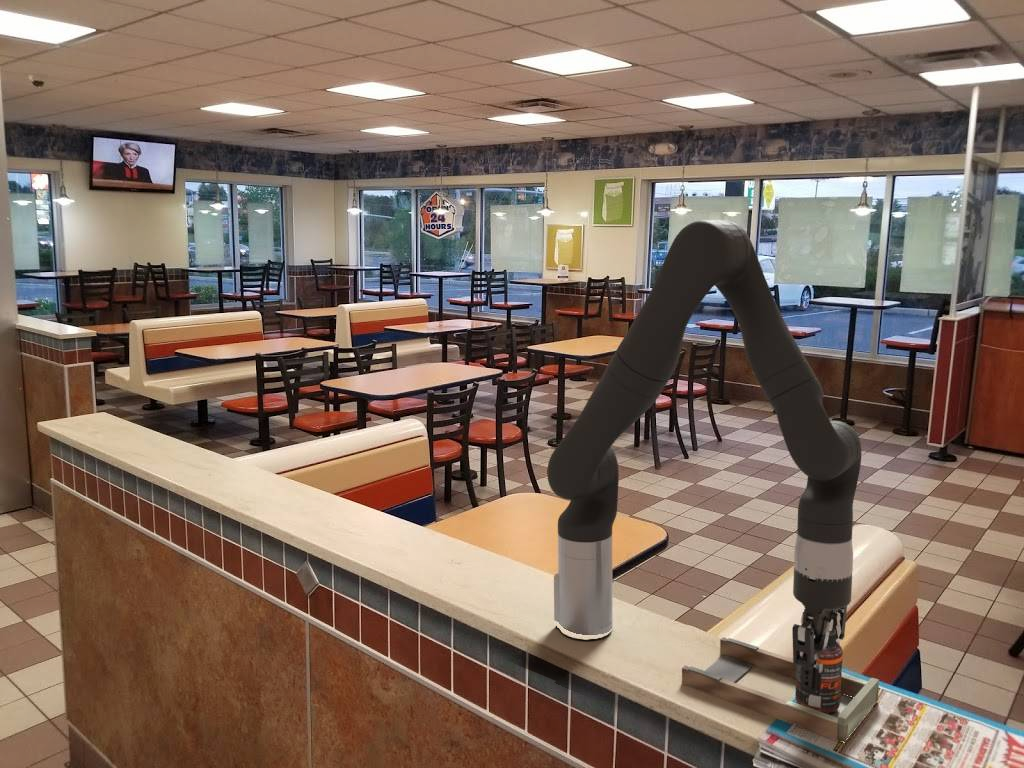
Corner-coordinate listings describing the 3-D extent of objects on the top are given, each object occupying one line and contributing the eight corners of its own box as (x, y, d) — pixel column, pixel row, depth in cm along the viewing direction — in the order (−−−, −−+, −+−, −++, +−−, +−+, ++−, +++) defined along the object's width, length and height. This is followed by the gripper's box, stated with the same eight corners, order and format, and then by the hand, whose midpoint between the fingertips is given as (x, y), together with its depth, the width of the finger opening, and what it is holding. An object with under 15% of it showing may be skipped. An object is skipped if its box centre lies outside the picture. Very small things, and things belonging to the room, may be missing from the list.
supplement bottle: (823, 720, 110) (827, 642, 109) (786, 702, 115) (788, 627, 114) (848, 706, 114) (852, 630, 112) (811, 688, 119) (814, 615, 117)
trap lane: (681, 683, 122) (682, 661, 121) (723, 651, 131) (723, 631, 131) (844, 743, 106) (845, 718, 105) (877, 702, 115) (878, 679, 115)
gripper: (816, 546, 119) (812, 653, 122) (774, 575, 109) (770, 692, 111) (869, 558, 114) (863, 669, 117) (830, 590, 104) (825, 712, 106)
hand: (818, 680), depth 114 cm, fingers closed on supplement bottle, 6 cm apart
